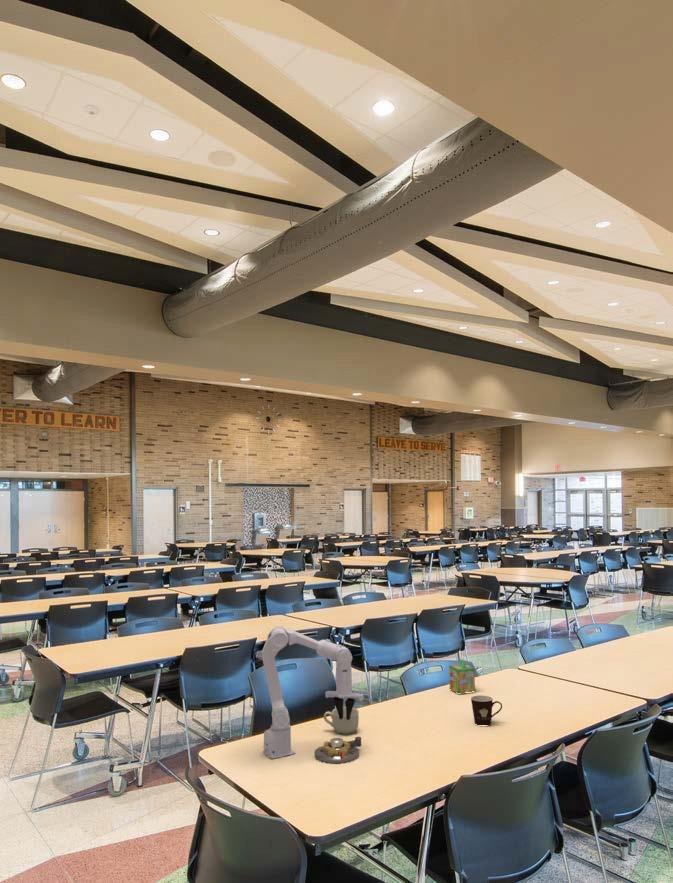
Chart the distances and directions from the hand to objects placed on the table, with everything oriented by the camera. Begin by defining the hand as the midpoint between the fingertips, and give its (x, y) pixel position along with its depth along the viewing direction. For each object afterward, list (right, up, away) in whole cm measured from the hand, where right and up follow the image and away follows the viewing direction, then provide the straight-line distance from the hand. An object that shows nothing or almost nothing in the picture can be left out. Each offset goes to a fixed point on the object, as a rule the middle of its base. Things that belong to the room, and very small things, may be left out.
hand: (344, 718), depth 240 cm
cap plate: (-3, -10, -8) cm, 13 cm away
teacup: (-1, -13, +17) cm, 21 cm away
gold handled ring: (-1, -9, -6) cm, 11 cm away
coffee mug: (+57, -12, +21) cm, 62 cm away
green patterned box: (+57, -17, +69) cm, 91 cm away
